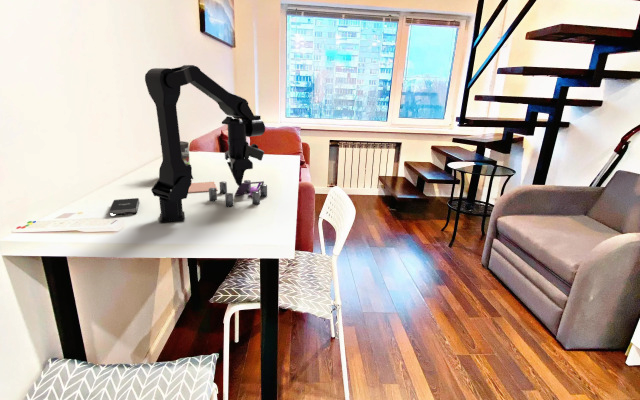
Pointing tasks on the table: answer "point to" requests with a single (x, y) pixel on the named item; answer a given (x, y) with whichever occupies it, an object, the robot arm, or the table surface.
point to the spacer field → (229, 196)
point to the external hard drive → (124, 206)
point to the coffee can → (184, 152)
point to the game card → (244, 186)
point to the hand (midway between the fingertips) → (238, 184)
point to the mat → (201, 187)
